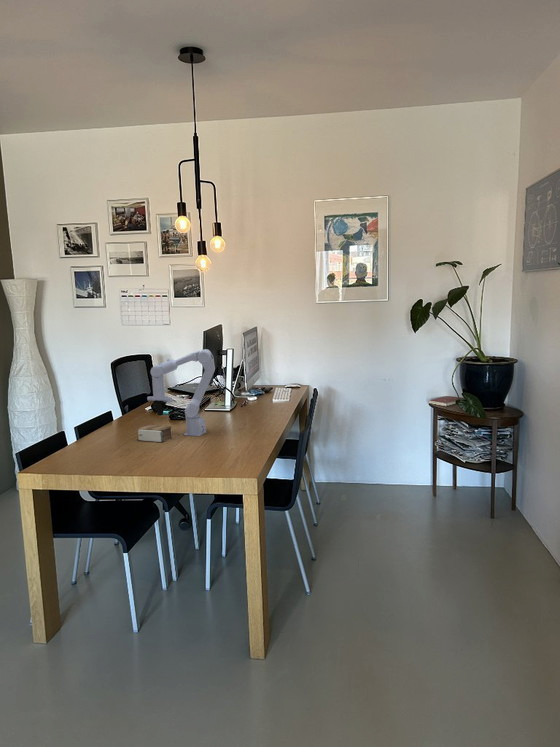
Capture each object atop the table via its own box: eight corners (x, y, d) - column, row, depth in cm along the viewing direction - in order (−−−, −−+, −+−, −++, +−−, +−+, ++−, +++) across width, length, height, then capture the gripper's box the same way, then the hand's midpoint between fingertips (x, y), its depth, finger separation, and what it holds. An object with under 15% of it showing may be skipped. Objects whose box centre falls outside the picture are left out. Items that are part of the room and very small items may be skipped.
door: (163, 441, 254) (162, 431, 254) (161, 442, 253) (160, 432, 252) (140, 439, 260) (139, 429, 259) (137, 440, 258) (136, 430, 257)
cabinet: (172, 437, 261) (171, 426, 260) (164, 441, 255) (163, 429, 254) (147, 436, 266) (146, 424, 265) (139, 440, 260) (138, 428, 259)
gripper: (174, 388, 264) (176, 414, 266) (153, 386, 271) (155, 412, 273) (165, 390, 258) (167, 417, 260) (143, 389, 265) (145, 415, 267)
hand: (160, 415), depth 266 cm, fingers closed
